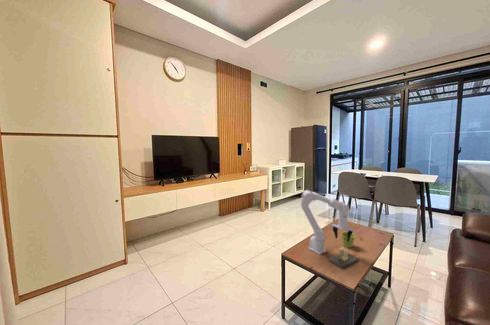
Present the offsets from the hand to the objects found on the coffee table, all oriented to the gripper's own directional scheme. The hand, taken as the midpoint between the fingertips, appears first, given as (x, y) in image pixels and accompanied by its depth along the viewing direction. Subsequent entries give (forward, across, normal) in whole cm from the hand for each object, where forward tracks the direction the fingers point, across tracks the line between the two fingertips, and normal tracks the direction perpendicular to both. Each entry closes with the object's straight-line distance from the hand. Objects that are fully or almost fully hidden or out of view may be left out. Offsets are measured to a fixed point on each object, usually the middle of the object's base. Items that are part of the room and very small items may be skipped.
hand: (342, 239), depth 144 cm
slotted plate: (+9, +4, -10) cm, 14 cm away
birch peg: (+9, +4, -11) cm, 15 cm away
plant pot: (+10, +1, +12) cm, 16 cm away
